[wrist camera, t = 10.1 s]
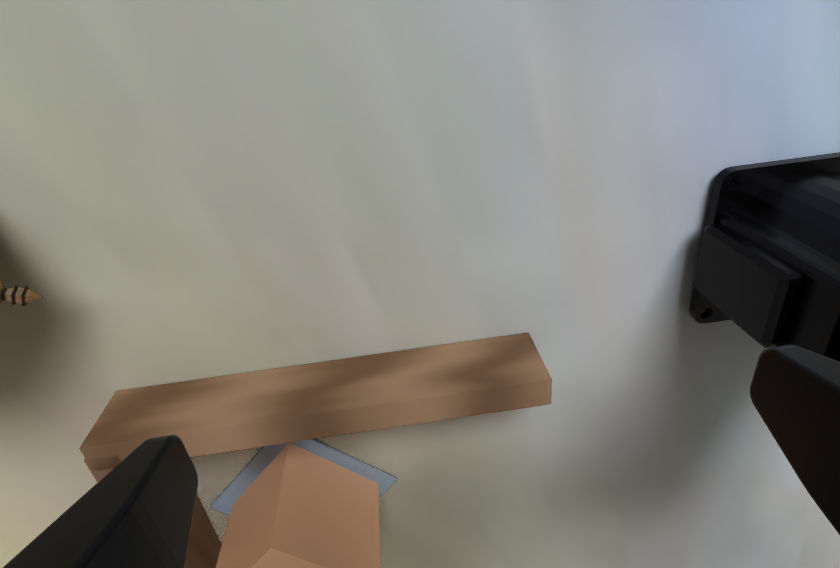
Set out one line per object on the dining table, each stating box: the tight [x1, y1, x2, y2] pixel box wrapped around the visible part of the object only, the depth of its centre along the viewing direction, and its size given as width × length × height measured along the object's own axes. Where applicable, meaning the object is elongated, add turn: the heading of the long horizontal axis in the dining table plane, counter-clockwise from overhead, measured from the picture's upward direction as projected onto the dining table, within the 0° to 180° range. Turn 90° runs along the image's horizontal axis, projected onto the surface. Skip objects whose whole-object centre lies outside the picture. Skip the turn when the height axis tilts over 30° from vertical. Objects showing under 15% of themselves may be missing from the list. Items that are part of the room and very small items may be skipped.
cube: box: [216, 443, 381, 568], centre depth 22 cm, size 5×5×5 cm
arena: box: [79, 333, 552, 568], centre depth 24 cm, size 17×19×3 cm
